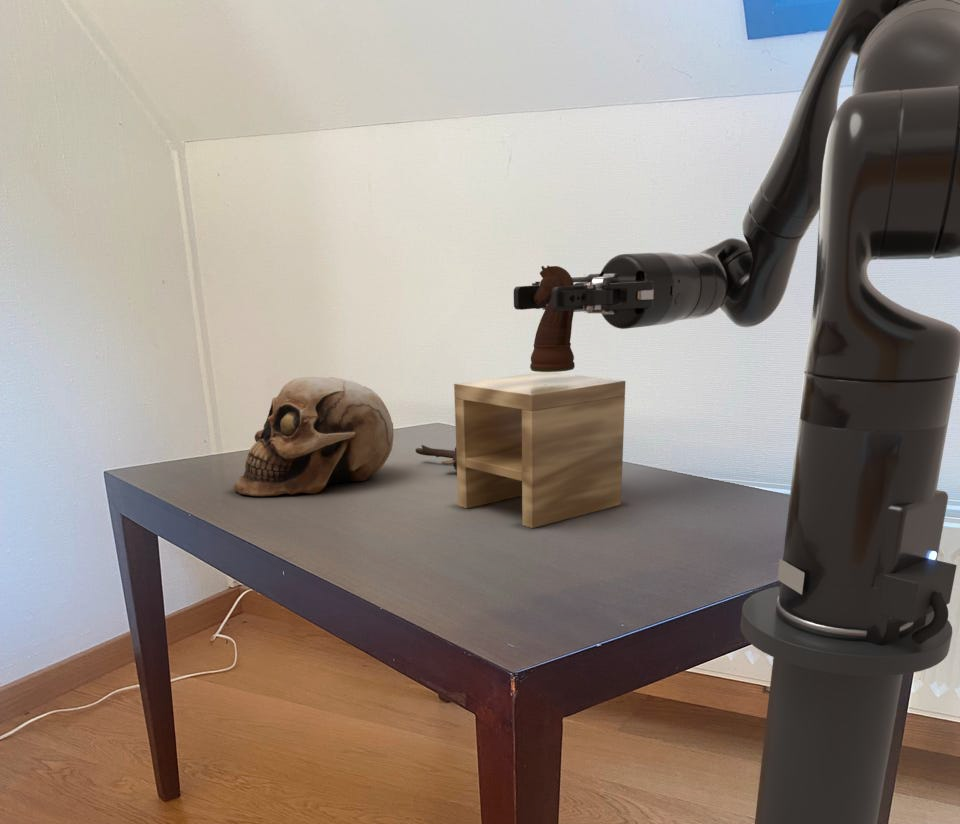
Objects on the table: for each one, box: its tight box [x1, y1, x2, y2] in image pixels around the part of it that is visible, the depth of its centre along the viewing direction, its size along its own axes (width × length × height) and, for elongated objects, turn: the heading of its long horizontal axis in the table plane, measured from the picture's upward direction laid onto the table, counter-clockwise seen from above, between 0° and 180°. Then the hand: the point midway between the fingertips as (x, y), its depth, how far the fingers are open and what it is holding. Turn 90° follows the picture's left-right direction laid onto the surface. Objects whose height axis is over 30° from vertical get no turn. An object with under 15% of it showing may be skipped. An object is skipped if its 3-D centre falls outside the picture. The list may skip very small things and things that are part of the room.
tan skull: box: [233, 376, 394, 497], centre depth 110 cm, size 16×17×13 cm
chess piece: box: [529, 265, 576, 373], centre depth 93 cm, size 5×5×10 cm
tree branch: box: [415, 444, 457, 472], centre depth 118 cm, size 18×4×14 cm
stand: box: [453, 372, 626, 529], centre depth 97 cm, size 12×13×13 cm
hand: (535, 298), depth 90 cm, fingers closed on chess piece, 5 cm apart
